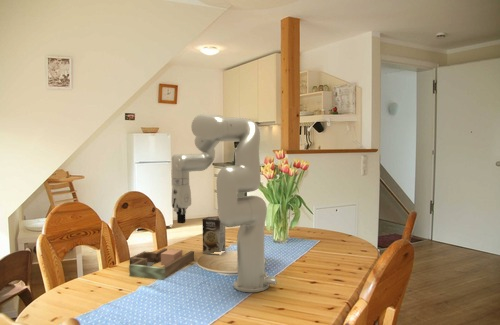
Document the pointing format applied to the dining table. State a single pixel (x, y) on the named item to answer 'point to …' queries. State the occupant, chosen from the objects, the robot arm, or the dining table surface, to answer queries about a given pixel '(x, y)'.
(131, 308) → the dining table surface
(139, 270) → the channel
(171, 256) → the block
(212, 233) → the coffee box
